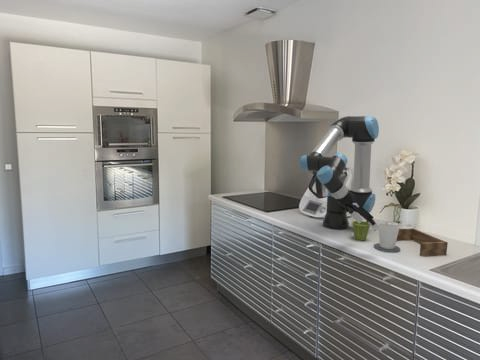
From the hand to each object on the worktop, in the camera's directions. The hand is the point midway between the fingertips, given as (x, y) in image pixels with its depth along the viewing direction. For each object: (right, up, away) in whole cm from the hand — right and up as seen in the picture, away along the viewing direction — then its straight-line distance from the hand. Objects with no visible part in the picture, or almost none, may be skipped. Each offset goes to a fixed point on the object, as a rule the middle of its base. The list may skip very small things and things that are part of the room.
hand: (368, 225), depth 168 cm
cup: (+10, -11, +3) cm, 16 cm away
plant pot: (+2, -10, +18) cm, 20 cm away
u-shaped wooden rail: (+26, -12, +7) cm, 29 cm away
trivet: (+10, -12, +4) cm, 16 cm away
